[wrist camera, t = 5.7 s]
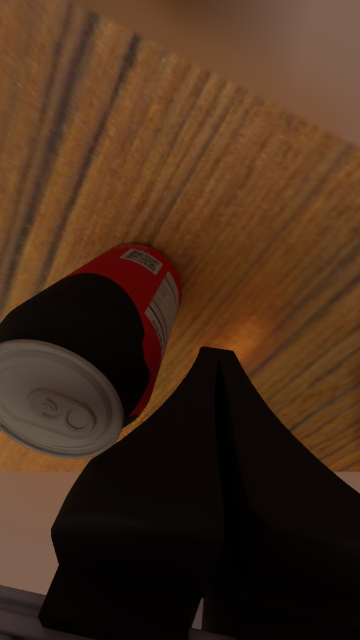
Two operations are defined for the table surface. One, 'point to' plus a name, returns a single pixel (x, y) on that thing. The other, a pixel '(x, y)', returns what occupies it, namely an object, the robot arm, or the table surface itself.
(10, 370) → the beverage can
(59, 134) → the table surface
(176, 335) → the table surface
